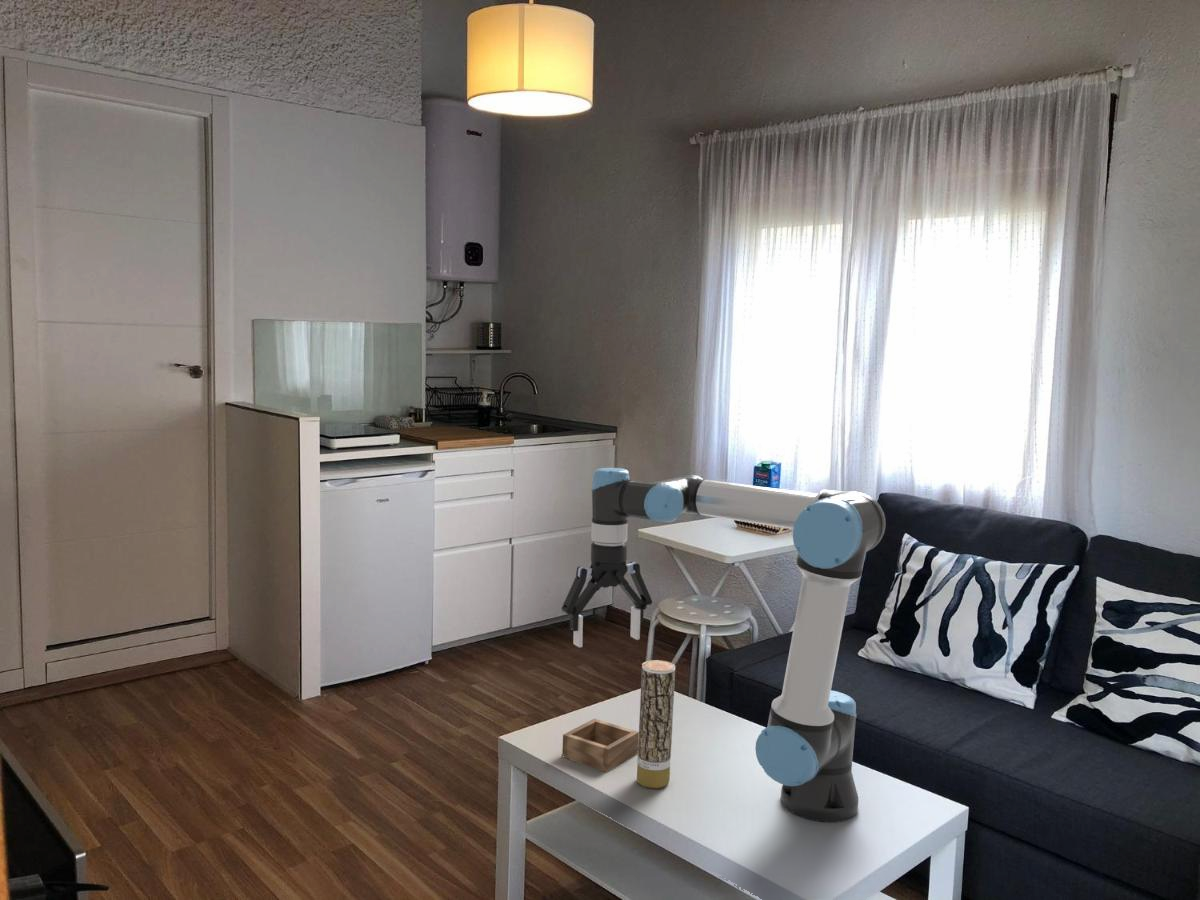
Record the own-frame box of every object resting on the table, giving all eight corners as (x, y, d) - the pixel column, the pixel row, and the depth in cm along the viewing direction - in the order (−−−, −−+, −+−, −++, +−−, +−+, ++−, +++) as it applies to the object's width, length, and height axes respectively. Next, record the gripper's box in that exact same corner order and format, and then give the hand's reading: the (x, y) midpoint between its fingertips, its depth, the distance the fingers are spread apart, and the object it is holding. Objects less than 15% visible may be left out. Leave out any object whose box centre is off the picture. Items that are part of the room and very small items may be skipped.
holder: (637, 753, 222) (638, 732, 221) (607, 772, 212) (608, 749, 212) (593, 739, 229) (594, 718, 228) (562, 756, 219) (563, 734, 218)
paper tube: (667, 791, 204) (673, 672, 201) (634, 787, 206) (639, 669, 203) (671, 777, 211) (677, 662, 208) (639, 773, 212) (644, 658, 209)
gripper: (651, 535, 219) (649, 630, 221) (547, 543, 207) (545, 643, 209) (669, 541, 212) (666, 639, 214) (562, 550, 201) (560, 653, 203)
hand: (606, 641), depth 212 cm, fingers open, 13 cm apart
